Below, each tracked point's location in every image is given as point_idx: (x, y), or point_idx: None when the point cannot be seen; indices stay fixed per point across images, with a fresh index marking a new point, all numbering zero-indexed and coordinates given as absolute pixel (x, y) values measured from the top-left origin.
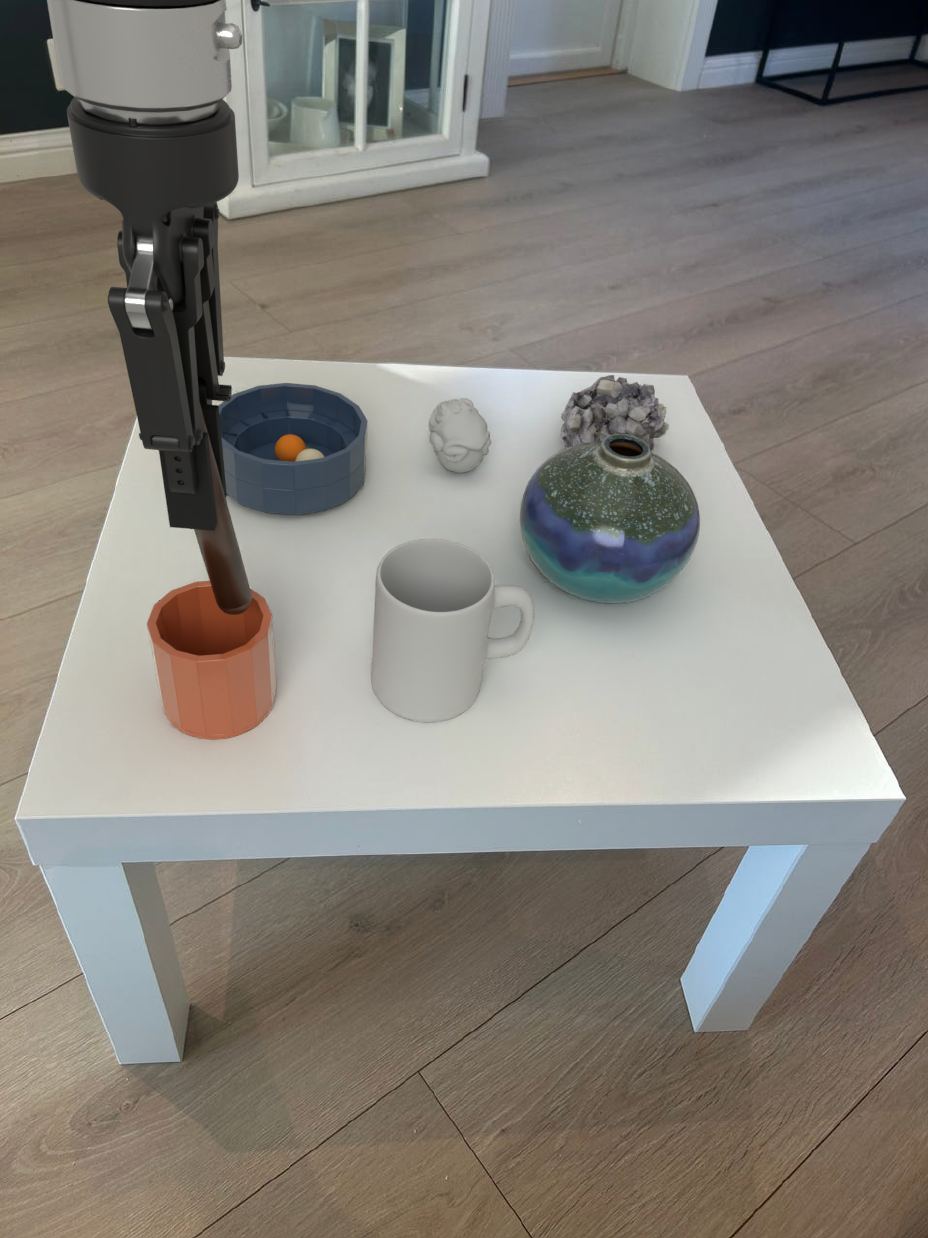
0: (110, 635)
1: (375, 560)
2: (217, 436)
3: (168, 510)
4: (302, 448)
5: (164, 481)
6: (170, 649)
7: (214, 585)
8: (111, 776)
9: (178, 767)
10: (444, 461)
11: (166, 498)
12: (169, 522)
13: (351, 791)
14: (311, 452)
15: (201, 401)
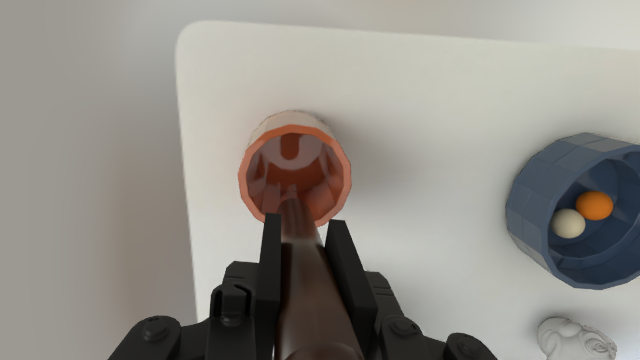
0: (370, 57)
1: (440, 264)
2: None
3: (264, 224)
4: (589, 218)
5: (261, 248)
6: (253, 149)
7: (280, 211)
8: (211, 79)
9: (221, 129)
10: (548, 325)
11: (263, 233)
12: (265, 215)
13: (202, 247)
14: (576, 230)
15: (368, 356)
